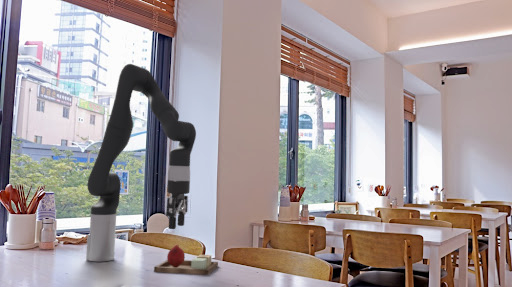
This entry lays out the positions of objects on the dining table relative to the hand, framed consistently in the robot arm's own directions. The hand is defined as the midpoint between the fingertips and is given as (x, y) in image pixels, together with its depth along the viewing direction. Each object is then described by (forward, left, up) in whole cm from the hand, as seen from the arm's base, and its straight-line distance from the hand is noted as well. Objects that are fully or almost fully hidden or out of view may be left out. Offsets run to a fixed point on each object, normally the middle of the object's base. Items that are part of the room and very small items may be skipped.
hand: (176, 227), depth 147 cm
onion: (0, 0, -14) cm, 14 cm away
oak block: (+9, +3, -14) cm, 17 cm away
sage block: (+9, -3, -14) cm, 17 cm away
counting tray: (+4, 0, -15) cm, 16 cm away
